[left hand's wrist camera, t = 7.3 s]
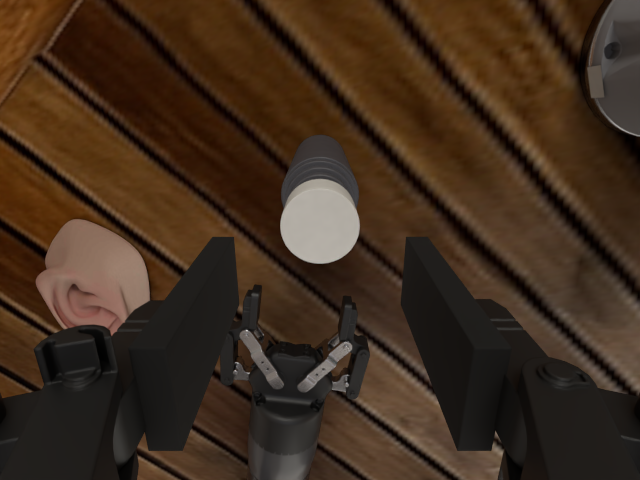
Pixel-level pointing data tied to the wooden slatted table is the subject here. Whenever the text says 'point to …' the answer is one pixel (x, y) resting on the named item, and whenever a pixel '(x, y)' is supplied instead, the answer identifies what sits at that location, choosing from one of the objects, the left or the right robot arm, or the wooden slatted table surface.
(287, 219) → the cap
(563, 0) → the wooden slatted table surface
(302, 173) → the bottle
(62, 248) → the anatomical model
